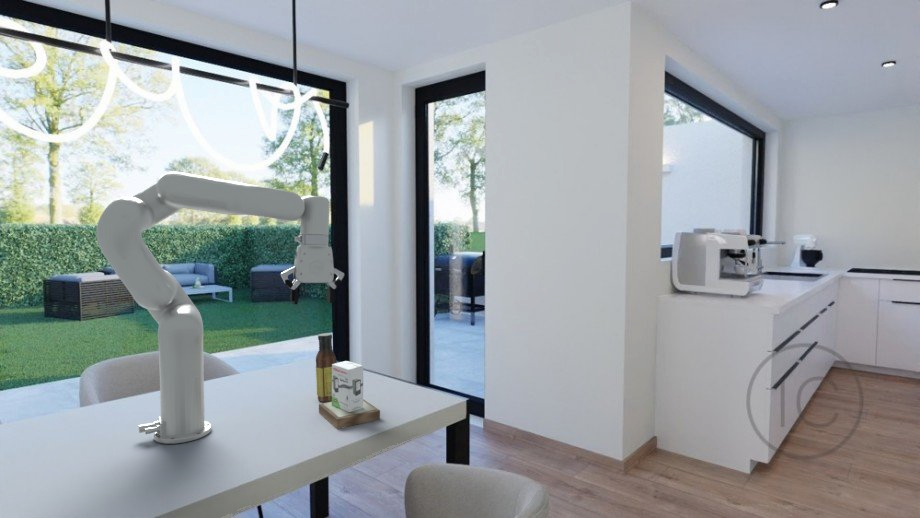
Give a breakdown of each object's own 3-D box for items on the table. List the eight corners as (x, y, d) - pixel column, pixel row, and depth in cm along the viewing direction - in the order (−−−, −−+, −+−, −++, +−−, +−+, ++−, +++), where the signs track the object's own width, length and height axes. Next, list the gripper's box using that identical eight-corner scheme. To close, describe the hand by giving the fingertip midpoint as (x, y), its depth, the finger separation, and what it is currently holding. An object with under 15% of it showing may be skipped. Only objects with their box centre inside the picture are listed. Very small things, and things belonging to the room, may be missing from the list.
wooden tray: (337, 428, 129) (337, 418, 129) (318, 412, 141) (318, 403, 141) (379, 419, 136) (379, 409, 136) (359, 404, 148) (359, 395, 148)
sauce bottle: (341, 396, 155) (340, 332, 154) (334, 403, 149) (333, 336, 148) (320, 395, 156) (320, 331, 155) (312, 402, 150) (312, 336, 149)
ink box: (330, 405, 139) (330, 363, 139) (345, 401, 143) (345, 360, 142) (349, 413, 134) (349, 369, 133) (364, 408, 137) (364, 365, 137)
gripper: (285, 240, 131) (283, 306, 131) (349, 242, 140) (347, 304, 141) (278, 240, 137) (276, 302, 137) (340, 242, 146) (338, 300, 147)
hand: (312, 303), depth 139 cm, fingers open, 9 cm apart
